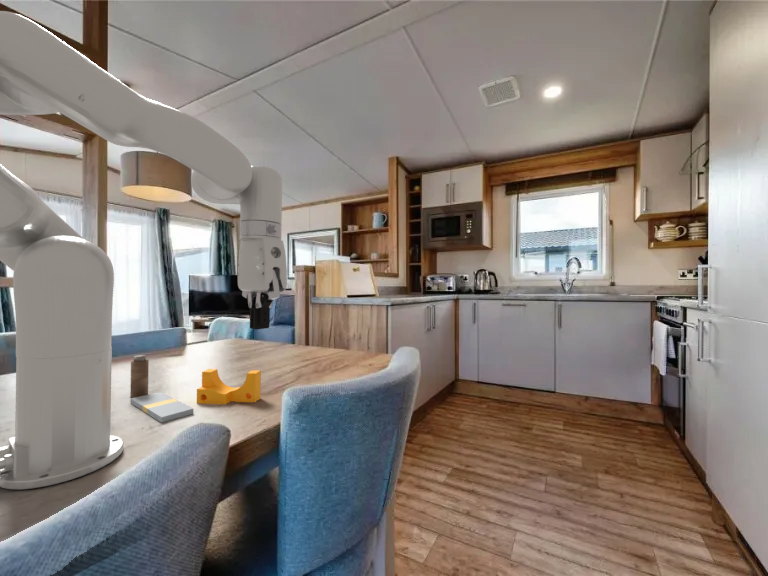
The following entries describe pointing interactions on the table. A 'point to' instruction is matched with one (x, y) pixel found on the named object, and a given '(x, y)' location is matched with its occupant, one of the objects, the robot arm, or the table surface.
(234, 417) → the table surface
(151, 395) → the board
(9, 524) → the table surface
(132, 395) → the peg
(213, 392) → the pipe clamp
